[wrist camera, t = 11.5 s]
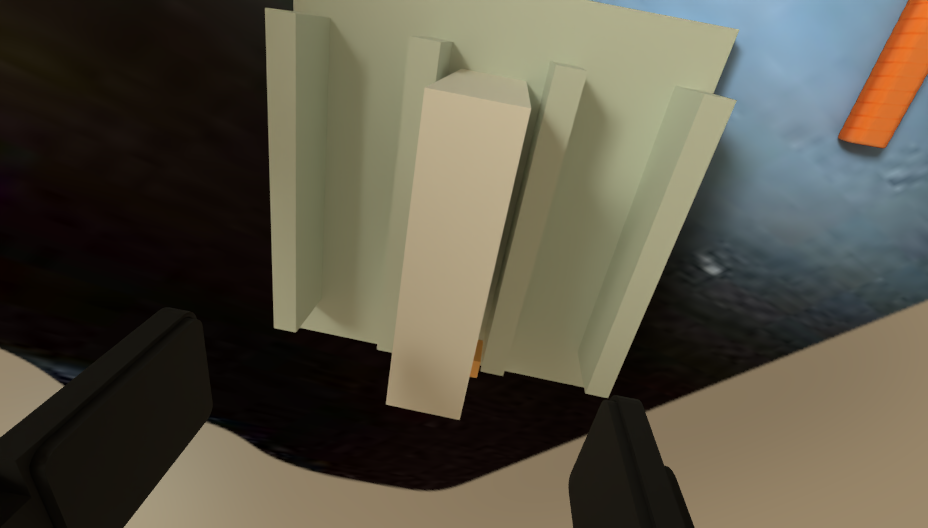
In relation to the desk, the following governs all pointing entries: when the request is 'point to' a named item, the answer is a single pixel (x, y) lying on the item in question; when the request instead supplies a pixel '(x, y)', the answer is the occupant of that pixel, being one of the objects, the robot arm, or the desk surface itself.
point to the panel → (454, 234)
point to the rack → (537, 179)
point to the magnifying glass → (891, 80)
